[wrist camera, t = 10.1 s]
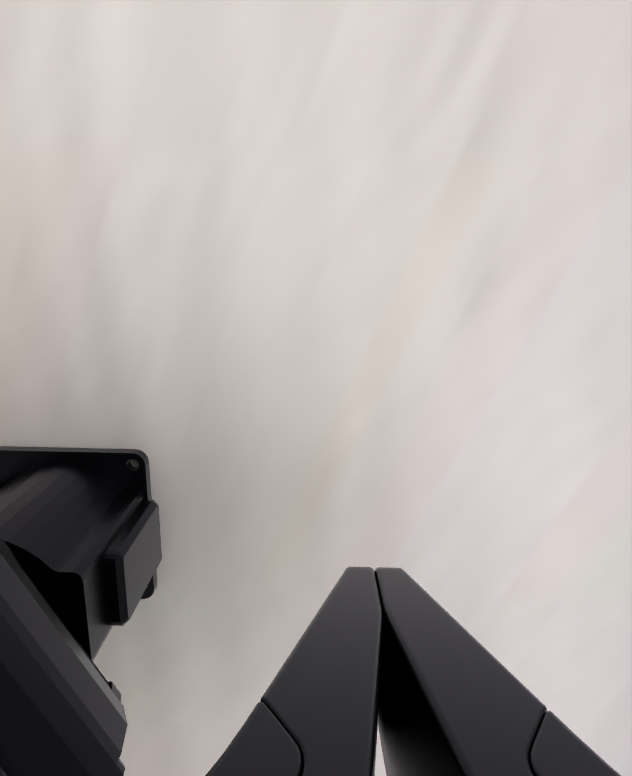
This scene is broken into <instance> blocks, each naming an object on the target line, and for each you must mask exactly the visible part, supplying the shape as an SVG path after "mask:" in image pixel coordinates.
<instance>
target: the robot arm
mask: <svg viewBox="0 0 632 776" xmlns="http://www.w3.org/2000/svg"><path fill="white" fill-rule="evenodd" d="M130 459H134V460H136V461H138V463H139V467H134V466H132V465H131V463H130ZM161 559H162V554H161V538H160V523H159V507H158V505H157V504H156V502H155V501H154V500H151V488H150V473H149V461H148V457H147V456H146V454H145V453H144V452H142V451H140V450H136V449H94V448H47V447H0V776H123V775H124V771H125V767H124V764H123V763H122V762H121V760H120V759H119V757H120V755H121V752H122V747H123V742H124V738H125V733H126V729H127V720H126V716H125V711H124V707H123V705H122V703H121V693H120V692H119V691H118V689H117V688H116V687H115V685H114V684H113V682H111V681H110V682H107V680H106V679H105V678H104V676H103V675H102V673H101V672H100V671H99V669H98V668H97V667H96V665H95V664H94V663H93V660H94V658H95V656H96V654H97V653H98V651H99V649H100V647H101V646H102V644H103V642H104V640H105V639H106V637H107V635H108V633H109V631H110V630H111V628H112V626H123V625H124V624H125V623H126V622H127V621H128V620H129V619H130V618H131V616H132V614H133V612H134V610H135V608H136V606H137V604H138V602H139V601H140V599H145V598H149V597H150V596H151V595H152V594H153V593H154V591H155V589H156V586H157V576H156V569H157V567H158V565H159V563H160V561H161ZM147 586H148V588H146V587H147ZM377 725H378V726H379V733H380V740H381V746H382V752H383V757H384V763H385V768H386V774H387V776H621V775H620V774H619V773H617V772H616V771H615V770H614V769H613V768H611V767H610V766H609V765H608V764H607V763H606V762H605V761H604V760H603V759H601V758H600V757H599V756H598V755H597V754H596V753H595V752H594V751H593V750H592V749H591V748H589V747H588V746H587V745H586V744H585V743H584V742H583V741H582V740H581V739H580V738H579V737H577V736H576V735H575V734H574V733H573V732H572V731H571V730H570V729H569V728H568V727H567V726H566V725H565V724H564V723H563V722H562V721H561V720H560V719H558V718H557V717H556V716H555V715H554V714H553V713H552V712H551V711H547V708H546V707H545V705H544V704H543V703H541V702H540V701H539V700H538V699H537V698H536V697H535V696H534V695H533V694H532V693H531V692H530V691H529V690H528V689H527V688H526V687H525V686H524V685H523V684H522V683H521V682H520V681H519V680H517V679H516V678H515V677H514V676H513V675H512V674H511V673H510V672H509V671H508V670H507V669H506V668H505V667H504V666H503V665H502V664H501V663H500V662H499V661H498V660H497V659H496V658H495V657H493V656H492V655H491V654H490V653H489V652H488V651H487V650H486V649H485V648H484V647H483V646H482V645H481V644H480V643H479V642H478V641H477V640H476V639H475V638H474V637H473V636H472V635H471V634H469V633H468V632H467V631H466V630H465V629H464V628H463V627H462V626H461V625H460V624H459V623H458V622H457V621H456V620H455V619H454V618H453V617H452V616H451V615H450V614H449V613H448V612H447V611H446V610H444V609H443V608H442V607H441V606H440V605H439V604H438V603H437V602H436V601H435V600H434V599H433V598H432V597H431V596H430V595H429V594H428V593H427V592H426V591H425V590H424V589H423V588H422V587H420V586H419V585H418V584H417V583H416V582H415V581H414V580H413V579H412V578H411V577H410V576H409V575H408V574H407V573H406V572H405V571H404V570H402V569H401V568H382V567H380V568H377V569H376V570H375V572H374V570H373V569H372V568H371V567H348V568H347V569H346V570H345V571H344V573H343V574H342V576H341V578H340V579H339V581H338V582H337V584H336V585H335V587H334V588H333V590H332V591H331V593H330V594H329V596H328V597H327V599H326V600H325V602H324V603H323V605H322V607H321V608H320V610H319V611H318V613H317V614H316V616H315V617H314V619H313V620H312V622H311V623H310V625H309V626H308V628H307V629H306V631H305V632H304V634H303V636H302V637H301V639H300V640H299V642H298V643H297V645H296V646H295V648H294V649H293V651H292V652H291V654H290V655H289V657H288V658H287V660H286V661H285V663H284V665H283V666H282V668H281V669H280V671H279V672H278V674H277V675H276V677H275V678H274V680H273V681H272V683H271V684H270V686H269V687H268V689H267V690H266V692H265V694H264V695H263V697H262V698H261V702H259V703H258V704H257V705H256V707H255V708H254V710H253V711H252V713H251V714H250V716H249V717H248V719H247V721H246V722H245V724H244V725H243V726H242V728H241V729H240V731H239V732H238V733H237V735H236V736H235V738H234V739H233V740H232V742H231V743H230V745H229V746H228V748H227V749H226V750H225V752H224V753H223V755H222V756H221V757H220V758H219V760H218V761H217V762H216V763H215V764H214V766H213V767H212V768H211V769H210V771H209V772H208V773H207V774H206V775H205V776H375V760H376V743H377Z"/></svg>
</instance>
